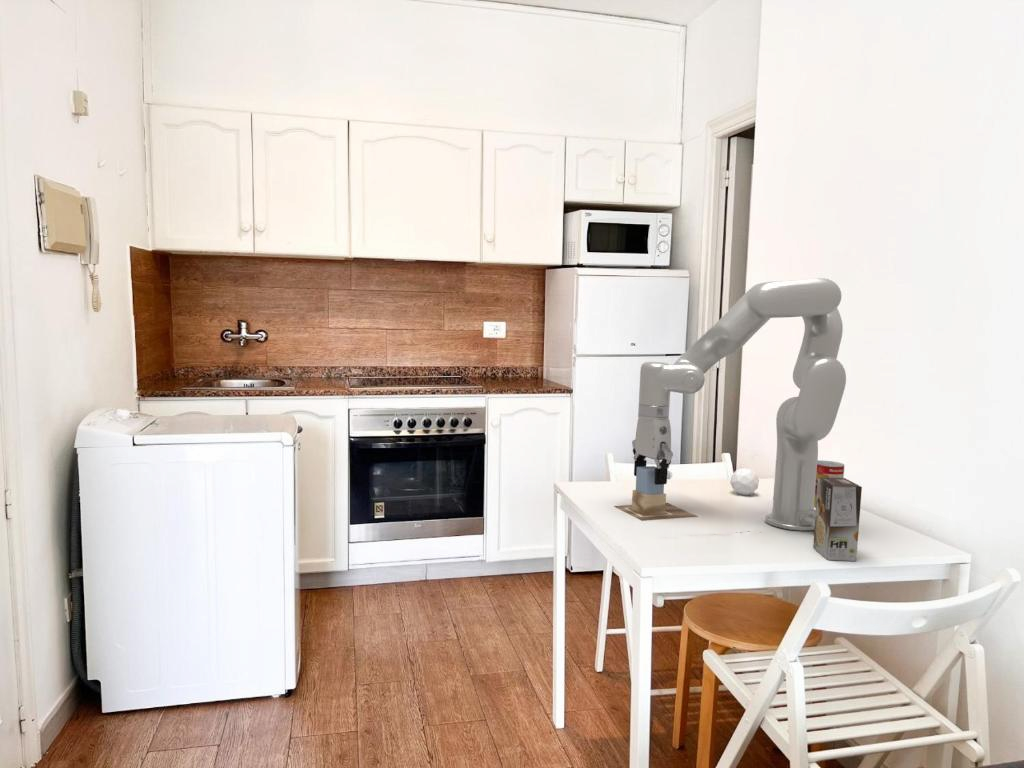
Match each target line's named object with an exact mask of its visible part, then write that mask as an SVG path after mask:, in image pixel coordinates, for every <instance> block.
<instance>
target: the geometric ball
mask: <svg viewBox="0 0 1024 768" xmlns="http://www.w3.org/2000/svg"><path fill="white" fill-rule="evenodd" d="M730 477H731V478H730V486H731V488H732V489H733V491H735V493H737V494H738V493H739V494H738V495H742V496H746V495H747V496H749V495H752V494H753V493H755V492H756V490H757V489H758V488H759V482H760V480H759V478H758V475H757V474H756V473H755V472H754V470H752V469H751V468H745V467H742V468H739V469H736V470H735V471H734V472H733V473H732V474H731V475H730Z"/></svg>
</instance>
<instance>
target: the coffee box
mask: <svg viewBox="0 0 1024 768" xmlns="http://www.w3.org/2000/svg"><path fill="white" fill-rule="evenodd" d="M862 490H863V487H862V486H861V485H859V484H857V483H856V482H853V481H851V480H849V479H847V478H845V477H844V478H832V477H826V478H824V477H818V483H817V498H816V507H815V510H816V514H815V528H814V530H813V531H814V532H813V545H812V548H813V549H814V550H815V551H817V552H818V553H819V554H820V555H821V556H823V557H824V558H825V559H826V560H829V561H846V562H856V561H857V556H858V555H857V554H858V545H859V544H858V543H859V542H858V541H859V530H860V529H859V528H860V516H861V503H862V492H863V491H862Z"/></svg>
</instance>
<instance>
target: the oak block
mask: <svg viewBox="0 0 1024 768" xmlns="http://www.w3.org/2000/svg"><path fill="white" fill-rule="evenodd" d="M631 494H632V495H631V496H632V497H631V505H632V510H634V511H636V512H638V513H640V514H642V515H658V514H665V505H666V503H667V502H666V501H667V494H666V493H664V494H654V495H645V494H643V493H640V492H638V491H636V489H632V493H631Z"/></svg>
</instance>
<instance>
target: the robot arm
mask: <svg viewBox="0 0 1024 768" xmlns="http://www.w3.org/2000/svg"><path fill="white" fill-rule="evenodd" d="M841 301H842V290H841V289H840V286H839V285H838V283H836V282H835V281H833V280H831V279H829V278H825V277H821V278H811V279H808V278H807V279H797V280H780V281H767V282H766V281H765V282H761V283H756V284H755V285H752V287H750V289H748V290H747V291H746V292H745V293H744V294H743V295H742V296H741V297H740V298H739V299H738V300H737V301H736V302H735V303H734V305H732V307H731V308H729V310H727V312H725V314H723V316H721V317H720V319H718V321H716V323H715V324H713V325H712V326H711V327H710V328H709V329H708V330H707V331H705V333H704V334H703V335H701V337H700V338H699V339H697V340H696V341H695V342H694V343H692V345H691V346H690V347H689V348H688V349H687V350H685V352H684V353H682V354H681V356H680V357H679V358H677V360H676V361H675V362H674V363H673V364H669V363H668V362H660V361H645V362H643V363H642V364H641V366H640V371H639V372H640V373H639V391H638V393H639V394H638V410H637V411H638V412H637V424H636V430H635V439H633V440H632V442H631V445H632V452H633V455H634V456H633V460H634V468H633V476H634V477H636V473H637V467H646V466H647V459H648V458H649V459H651V460H654V463H655V465H656V466H655V467H657V468H655V481H654V483H655V484H656V485H661V484H664V485H667V483H668V470H669V468H670V465H671V463H672V458H673V456H674V453H673V451H672V428H671V422H670V405H671V404H670V401H671V392H673V393H678V394H685V395H692V394H696V393H697V392H699V391H700V390H702V388H703V387H704V385H705V382H706V377H705V374H706V373H707V372H708V371H709V370H710V369H711V368H713V366H714V365H716V364H717V363H718V362H720V360H723V359H724V358H726V357H728V356H730V355H733V354H734V353H735V352H737V351H739V350H740V349H741V348H743V346H745V345H746V344H747V343H748V342H749V340H751V338H752V337H753V336H754V335H756V334H757V333H758V331H759V330H760V329H761V328H762V327H764V325H766V324H767V323H768V322H769V321H770V319H777V318H779V319H780V318H781V319H782V318H797V317H799V318H800V317H801V318H802V320H803V324H804V332H803V337H802V342H801V346H800V348H799V352H798V355H797V358H796V361H795V365H794V367H793V371H792V380H793V383H794V385H795V386H796V387H797V388H798V389H800V390H799V393H798V395H797V396H792V397H790V398H788V399H786V400H784V401H783V402H782V403H781V404H780V406H779V407H778V410H777V413H776V418H775V419H776V457H775V458H776V459H775V470H774V484H773V495H772V496H773V497H772V498H773V499H772V512H771V513H769V514H766V515H765V518H764V519H765V520H764V521H765V522H766V523H767V524H769V525H771V526H773V527H776V528H780V529H783V530H784V529H785V530H790V531H802V532H803V531H805V532H808V531H814V528H815V514H816V509H815V507H814V499H815V486H816V472H817V462H818V459H819V458H818V457H819V443H818V442H819V441H821V440H823V439H825V438H826V437H827V436H828V435H829V434H830V433H831V430H832V429H833V427H834V425H835V421H836V418H837V416H838V412H839V409H840V405H841V402H842V399H843V396H844V392H845V389H846V384H847V373H846V370H845V368H844V365H843V363H841V362H840V361H839V360H838V354H839V351H840V346H841V342H842V338H843V337H842V336H843V332H844V331H843V330H844V327H843V320H842V316H841V314H840V311H839V309H838V307H839V305H840V304H841ZM646 458H647V459H646Z"/></svg>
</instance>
